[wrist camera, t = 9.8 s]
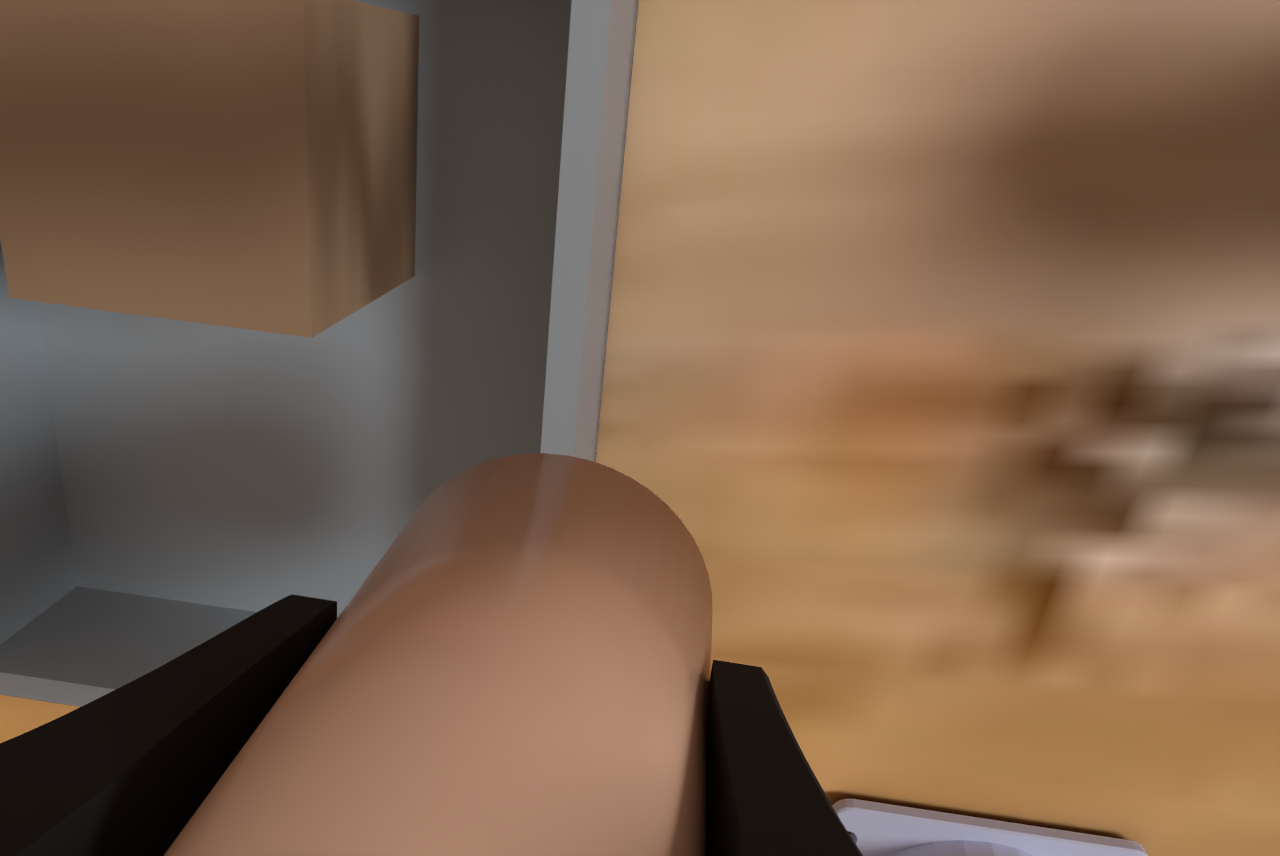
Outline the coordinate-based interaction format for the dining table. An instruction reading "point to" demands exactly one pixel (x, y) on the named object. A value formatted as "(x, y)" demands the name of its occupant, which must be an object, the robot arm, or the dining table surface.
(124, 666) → the tote
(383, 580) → the terracotta cylinder
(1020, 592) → the dining table surface
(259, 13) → the walnut cube
